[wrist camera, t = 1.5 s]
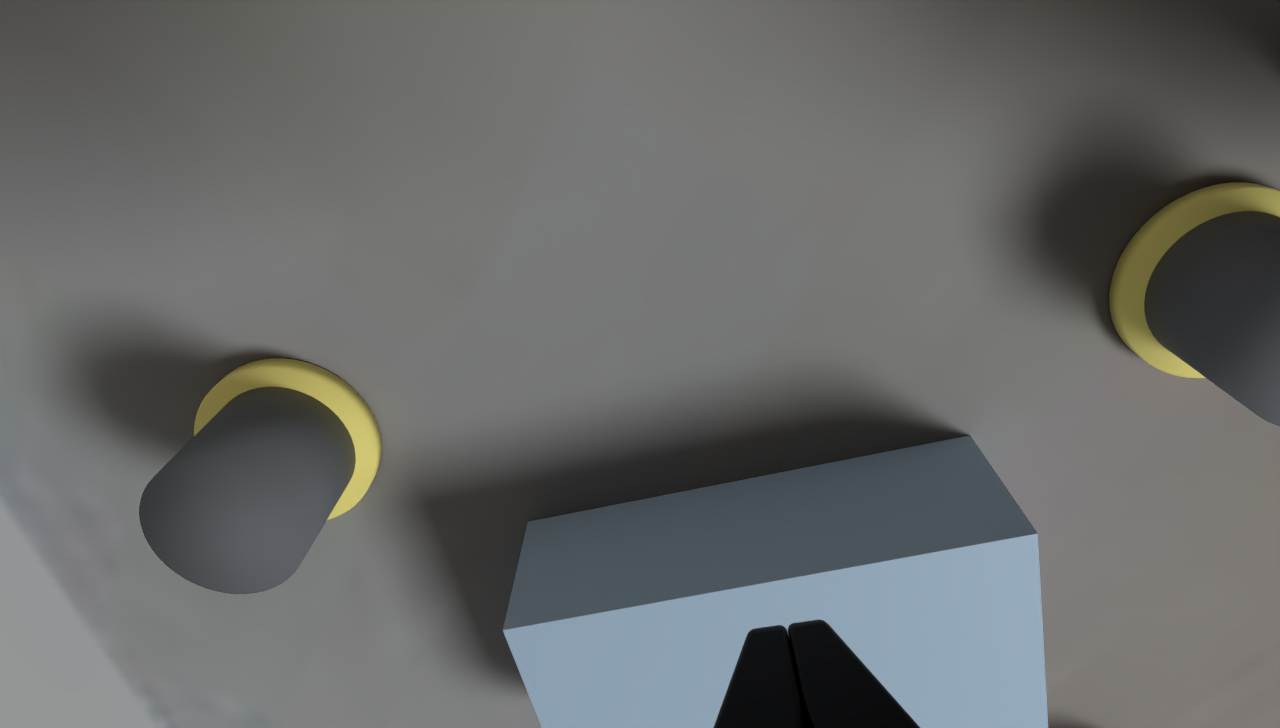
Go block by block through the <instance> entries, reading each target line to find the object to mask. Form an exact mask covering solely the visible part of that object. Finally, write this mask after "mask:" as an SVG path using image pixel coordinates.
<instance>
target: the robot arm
mask: <svg viewBox="0 0 1280 728" xmlns="http://www.w3.org/2000/svg"><path fill="white" fill-rule="evenodd" d="M713 728H920V727H919V725H918V724H917V723H916V722H915V721H914V720H913V719H912V717H911V716H910V715H909V714H908V713H907V712H906V711H905V710H904V708H903V707H902V706H901V705H900V704H899V703H898V702H897V701H896V699H895V698H894V697H893V696H892V695H891V694H890V693H889V692H888V690H887V689H886V688H885V687H884V686H883V685H882V684H881V683H880V681H879V680H878V679H877V678H876V677H875V676H874V675H873V674H872V672H871V671H870V670H869V669H868V668H867V667H866V666H865V665H864V663H863V662H862V661H861V660H860V659H859V658H858V657H857V656H856V654H855V653H854V652H853V651H852V650H851V649H850V648H849V647H848V645H847V644H846V643H845V642H844V641H843V640H842V639H841V638H840V636H839V635H838V634H837V633H836V632H835V631H834V630H833V629H832V627H831V626H830V625H829V624H828V623H827V622H825V621H823V620H812V621H805V622H797V623H792V624H790V625H789V627H788V632H787V629H786V628H785V627H784V626H782V625H776V626H769V627H762V628H755V629H752V630H750V631H749V632H748V634H747V636H746V639H745V642H744V644H743V647H742V650H741V653H740V655H739V658H738V661H737V664H736V666H735V669H734V672H733V675H732V677H731V680H730V683H729V686H728V689H727V691H726V694H725V697H724V700H723V702H722V705H721V708H720V711H719V713H718V716H717V719H716V722H715V725H714V727H713Z"/></svg>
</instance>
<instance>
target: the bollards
mask: <svg viewBox="0 0 1280 728" xmlns="http://www.w3.org/2000/svg"><path fill="white" fill-rule="evenodd" d="M1109 306H1110V313H1111V318H1112V321H1113V324H1114V327H1115V329H1116V331H1117V333H1118V334H1119V336H1120V338H1121V339H1122V340H1123V342H1124V343H1125V344H1126V345H1127V346H1128V347H1129V348H1130V349H1131V350H1132V351H1134V352H1135V353H1136V354H1137V355H1138V356H1140V357H1141V358H1142V359H1144V360H1145V361H1146V362H1147V363H1149V364H1150V365H1152V366H1154V367H1155V368H1157V369H1159V370H1161V371H1164V372H1166V373H1169V374H1173V375H1176V376H1181V377H1189V378H1207V379H1208V380H1210V381H1211V382H1213V383H1214V384H1215V385H1217V386H1218V387H1219V388H1221V389H1222V390H1224V391H1225V392H1226V393H1228V394H1229V395H1230V396H1232V397H1233V398H1234V399H1236V400H1237V401H1239V402H1240V403H1241V404H1243V405H1244V406H1245V407H1247V408H1248V409H1250V410H1251V411H1252V412H1254V413H1255V414H1256V415H1258V416H1259V417H1261V418H1262V419H1264V420H1266V421H1268V422H1270V423H1272V424H1275V425H1278V426H1280V191H1279V190H1276V189H1273V188H1270V187H1267V186H1263V185H1260V184H1254V183H1246V182H1232V183H1223V184H1217V185H1213V186H1209V187H1205V188H1202V189H1199V190H1196V191H1193V192H1191V193H1189V194H1187V195H1185V196H1182V197H1180V198H1178V199H1177V200H1175V201H1173V202H1172V203H1170V204H1168V205H1167V206H1165V207H1164V208H1163V209H1161V210H1160V211H1159V212H1157V213H1156V214H1155V215H1153V216H1152V217H1151V218H1150V219H1149V220H1148V221H1147V222H1146V223H1145V224H1144V225H1143V226H1142V227H1141V228H1140V229H1139V230H1138V231H1137V233H1136V234H1135V235H1134V236H1133V237H1132V239H1131V240H1130V242H1129V243H1128V245H1127V246H1126V247H1125V249H1124V251H1123V253H1122V255H1121V256H1120V258H1119V260H1118V263H1117V265H1116V268H1115V270H1114V273H1113V277H1112V281H1111V285H1110V294H1109ZM381 456H382V441H381V434H380V430H379V427H378V424H377V421H376V419H375V417H374V415H373V413H372V411H371V410H370V408H369V406H368V405H367V403H366V402H365V401H364V400H363V398H362V397H361V396H360V395H359V394H358V393H357V392H356V391H355V390H354V389H353V388H352V387H351V386H350V385H349V384H347V383H346V382H345V381H344V380H342V379H341V378H339V377H338V376H336V375H335V374H333V373H331V372H329V371H327V370H325V369H323V368H321V367H319V366H316V365H313V364H310V363H307V362H303V361H299V360H293V359H285V358H271V359H262V360H257V361H253V362H250V363H247V364H245V365H242V366H240V367H238V368H236V369H235V370H233V371H231V372H230V373H229V374H228V375H226V376H225V377H224V378H223V379H222V380H221V381H220V382H219V383H217V384H216V385H215V386H214V387H213V388H212V389H211V390H210V391H209V393H208V394H207V395H206V396H205V397H204V399H203V401H202V402H201V404H200V406H199V409H198V411H197V414H196V418H195V423H194V437H193V438H192V439H191V440H190V441H189V442H188V443H187V444H186V445H185V446H184V447H183V448H182V449H181V450H180V451H179V452H178V453H177V454H176V455H175V456H174V457H173V458H172V459H171V460H170V461H169V462H168V463H167V464H166V465H165V466H164V467H163V468H162V469H161V470H160V471H159V472H158V473H157V474H156V475H155V476H154V477H153V479H152V480H151V481H150V482H149V483H148V485H147V486H146V488H145V490H144V492H143V494H142V497H141V501H140V506H139V516H140V523H141V527H142V530H143V533H144V535H145V538H146V540H147V542H148V543H149V545H150V547H151V548H152V550H153V551H154V552H155V554H156V555H157V556H158V557H159V558H160V559H161V560H162V561H163V562H164V563H165V564H166V565H167V566H168V567H169V568H170V569H172V570H173V571H174V572H175V573H177V574H178V575H180V576H182V577H183V578H185V579H187V580H188V581H190V582H192V583H194V584H197V585H199V586H202V587H204V588H207V589H210V590H214V591H218V592H223V593H231V594H250V593H257V592H262V591H266V590H268V589H271V588H274V587H276V586H278V585H280V584H281V583H283V582H284V581H286V580H287V579H288V578H289V577H290V576H291V575H293V574H294V572H295V571H296V570H297V568H298V567H299V565H300V564H301V562H302V560H303V559H304V557H305V555H306V554H307V552H308V550H309V549H310V547H311V545H312V544H313V542H314V540H315V539H316V537H317V535H318V534H319V532H320V530H321V529H322V527H323V525H324V524H325V522H326V520H329V519H332V518H334V517H337V516H339V515H341V514H343V513H345V512H347V511H348V510H349V509H351V508H352V507H354V506H355V505H356V504H357V503H358V502H359V501H360V500H361V498H362V497H363V496H364V494H365V493H366V492H367V490H368V488H369V486H370V485H371V483H372V481H373V479H374V477H375V475H376V473H377V471H378V468H379V465H380V462H381Z"/></svg>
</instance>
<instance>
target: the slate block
mask: <svg viewBox="0 0 1280 728" xmlns="http://www.w3.org/2000/svg"><path fill="white" fill-rule="evenodd" d="M812 620H823V621H825V622H827V623H828V624H829V625H830V626H831V627H832V629H833V630H834V631H835V632H836V633H837V634H838V635H839V636H840V638H841V639H842V640H843V641H844V642H845V643H846V644H847V645H848V647H849V648H850V649H851V650H852V651H853V652H854V653H855V654H856V656H857V657H858V658H859V659H860V660H861V661H862V662H863V663H864V665H865V666H866V667H867V668H868V669H869V670H870V671H871V672H872V674H873V675H874V676H875V677H876V678H877V679H878V680H879V681H880V683H881V684H882V685H883V686H884V687H885V688H886V689H887V690H888V692H889V693H890V694H891V695H892V696H893V697H894V698H895V699H896V701H897V702H898V703H899V704H900V705H901V706H902V707H903V708H904V710H905V711H906V712H907V713H908V714H909V715H910V716H911V717H912V719H913V720H914V721H915V722H916V723H917V724H918V725H919V727H920V728H1048V715H1047V697H1046V679H1045V660H1044V642H1043V623H1042V605H1041V587H1040V568H1039V550H1038V533H1037V532H1036V530H1035V529H1034V528H1033V526H1032V525H1031V523H1030V522H1029V520H1028V519H1027V517H1026V516H1025V514H1024V513H1023V512H1022V510H1021V509H1020V507H1019V506H1018V504H1017V503H1016V501H1015V500H1014V498H1013V497H1012V496H1011V494H1010V493H1009V491H1008V490H1007V488H1006V487H1005V485H1004V484H1003V482H1002V481H1001V480H1000V478H999V477H998V475H997V474H996V472H995V471H994V469H993V468H992V466H991V465H990V464H989V462H988V461H987V459H986V458H985V456H984V455H983V453H982V452H981V450H980V449H979V448H978V446H977V445H976V443H975V442H974V440H973V439H972V437H971V436H964V437H959V438H954V439H949V440H944V441H939V442H934V443H929V444H923V445H918V446H913V447H908V448H903V449H898V450H893V451H888V452H882V453H877V454H872V455H867V456H862V457H857V458H852V459H847V460H842V461H836V462H831V463H826V464H821V465H816V466H811V467H806V468H801V469H795V470H790V471H785V472H780V473H775V474H770V475H765V476H760V477H754V478H749V479H744V480H739V481H734V482H729V483H724V484H719V485H713V486H708V487H703V488H698V489H693V490H688V491H683V492H678V493H672V494H667V495H662V496H657V497H652V498H647V499H642V500H637V501H632V502H626V503H621V504H616V505H611V506H606V507H601V508H596V509H591V510H585V511H580V512H575V513H570V514H565V515H560V516H555V517H550V518H544V519H539V520H534V521H529V522H528V523H527V527H526V531H525V536H524V540H523V544H522V549H521V553H520V557H519V562H518V566H517V570H516V575H515V579H514V583H513V588H512V592H511V596H510V601H509V605H508V609H507V614H506V618H505V622H504V627H503V632H504V635H505V637H506V640H507V642H508V645H509V647H510V650H511V652H512V655H513V657H514V660H515V662H516V665H517V667H518V670H519V672H520V675H521V677H522V680H523V682H524V685H525V687H526V690H527V692H528V695H529V697H530V700H531V702H532V705H533V707H534V709H535V712H536V714H537V717H538V719H539V722H540V724H541V727H542V728H713V727H714V725H715V722H716V719H717V716H718V713H719V711H720V708H721V705H722V702H723V700H724V697H725V694H726V691H727V689H728V686H729V683H730V680H731V677H732V675H733V672H734V669H735V666H736V664H737V661H738V658H739V655H740V653H741V650H742V647H743V644H744V642H745V639H746V636H747V634H748V632H749V631H750V630H752V629H755V628H762V627H769V626H776V625H782V626H784V627H785V628H786V629H787V632H788V627H789V625H790V624H792V623H797V622H805V621H812Z"/></svg>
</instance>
